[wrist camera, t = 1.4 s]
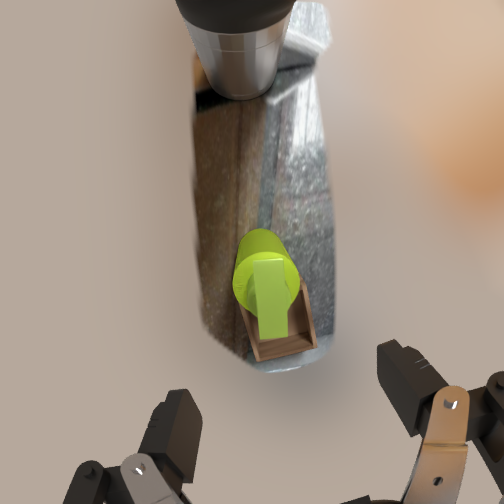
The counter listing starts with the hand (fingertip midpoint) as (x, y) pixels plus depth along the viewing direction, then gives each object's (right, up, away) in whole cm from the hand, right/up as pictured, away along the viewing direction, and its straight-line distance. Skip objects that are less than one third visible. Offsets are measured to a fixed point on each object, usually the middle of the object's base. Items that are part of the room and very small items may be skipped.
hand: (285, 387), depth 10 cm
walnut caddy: (+2, -3, +28) cm, 29 cm away
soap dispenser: (0, +6, +27) cm, 27 cm away
